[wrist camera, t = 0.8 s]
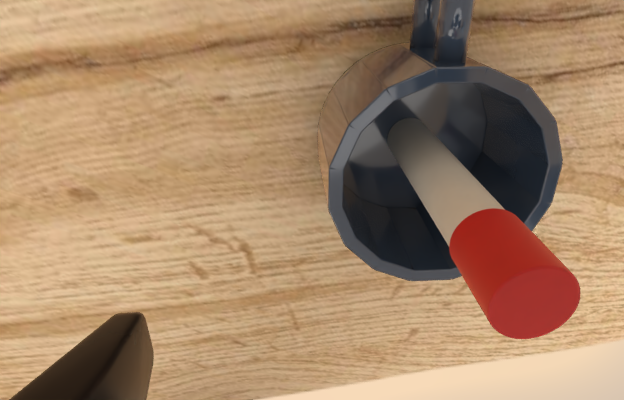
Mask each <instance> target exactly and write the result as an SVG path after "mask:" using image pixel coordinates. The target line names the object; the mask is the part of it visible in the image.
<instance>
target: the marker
mask: <svg viewBox="0 0 624 400" xmlns="http://www.w3.org/2000/svg"><path fill="white" fill-rule="evenodd" d="M387 142H388V146H389V149H390V150H391V152H392V154H393V155H394V157H395V158H396V160H397V162H398V163H399V165H400V167H401V168H402V170H403V172H404V173H405V175H406V177H407V178H408V180H409V182H410V183H411V185H412V186H413V188H414V190H415V191H416V193H417V195H418V196H419V198H420V200H421V201H422V203H423V205H424V206H425V208H426V210H427V211H428V213H429V214H430V216H431V218H432V219H433V221H434V223H435V224H436V226H437V228H438V229H439V231H440V233H441V234H442V236H443V238H444V239H445V241H446V242H447V244H448V246H449V251H450V255H451V258H452V260H453V261H454V263H455V265H456V266H457V268H458V270H459V271H460V273H461V275H462V277H463V278H464V280H465V282H466V283H467V285H468V287H469V288H470V290H471V292H472V293H473V295H474V297H475V299H476V300H477V302H478V304H479V305H480V307H481V309H482V310H483V312H484V314H485V315H486V317H487V319H488V321H489V322H490V324H491V325H492V327H493V328H494V329H495V330H496V331H498V332H499V333H501V334H503V335H504V336H507V337H510V338H515V339H530V338H535V337H539V336H542V335H545V334H548V333H550V332H552V331H554V330H555V329H557V328H558V327H560V326H561V325H563V324H564V323H565V322H566V321H567V320H568V319H569V318H570V317H571V316H572V314H573V313H574V311H575V310H576V308H577V306H578V303H579V300H580V287H579V283H578V281H577V279H576V277H575V276H574V275H573V274H572V273H571V272H570V271H569V270H568V269H567V268H566V267H565V266H564V265H563V263H562V262H561V261H560V260H559V259H558V258H557V257H556V256H555V255H554V254H553V253H552V252H551V251H550V250H549V249H548V248H547V247H546V246H545V245H544V244H543V243H542V242H541V241H540V240H539V239H538V238H537V237H536V236H535V234H534V233H533V232H532V231H531V230H530V229H529V228H528V227H527V226H526V225H525V224H524V223H523V222H522V221H521V220H520V219H519V218H518V217H517V216H516V215H515V214H513V213H512V212H509V211H507V210H505V209H504V208H503V207H502V206H501V205H500V204H499V203H498V202H497V200H496V199H495V198H494V197H493V196H492V195H491V194H490V193H489V192H488V191H487V190H486V189H485V188H484V187H483V186H482V185H481V184H480V182H479V181H478V180H477V179H476V178H475V177H474V176H473V175H472V174H471V173H470V172H469V171H468V170H467V169H466V168H465V167H464V165H463V164H462V163H461V162H460V161H459V160H458V159H457V158H456V157H455V156H454V155H453V154H452V153H451V152H450V151H449V150H448V149H447V147H446V146H445V145H444V144H443V143H442V142H441V141H440V140H439V139H438V138H437V137H436V136H435V135H434V134H433V133H432V132H431V131H430V129H429V128H428V127H427V126H426V125H425V124H424V123H423V122H422V121H420V120H418V119H415V118H406V119H402V120H400V121H398V122H397V123H396V124H394V126H393V127H392V128H391V129H390V131H389V134H388V138H387Z"/></svg>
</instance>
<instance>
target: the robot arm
mask: <svg viewBox="0 0 624 400" xmlns="http://www.w3.org/2000/svg"><path fill="white" fill-rule="evenodd" d="M152 366H153V347H152V343H151V339H150V335H149V331H148V327H147V323H146V319H145V317H144V315H143V314H142V313H140V312H132V313H119V314H116V315H114V316H112V317H111V318H110V319H109V320H107V321H106V322H105V323H104V324H102V325H101V326H100V327H99V328H97V329H96V330H95V331H94V332H93V333H91V334H90V335H89V336H88V337H86V338H85V339H84V340H83V341H81V342H80V343H79V344H78V345H76V346H75V347H74V348H73V349H71V350H70V351H69V352H68V353H67V354H65V355H64V356H63V357H62V358H60V359H59V360H58V361H57V362H55V363H54V364H53V365H52V366H50V367H49V368H48V369H47V370H45V371H44V372H43V373H42V374H41V375H39V376H38V377H37V378H36V379H34V380H33V381H32V382H31V383H29V384H28V385H27V386H26V387H24V388H23V389H22V390H21V391H19V392H18V393H17V394H16V395H15V396H13V397H12V398H11V399H10V400H146V398H147V393H148V387H149V382H150V377H151V371H152Z"/></svg>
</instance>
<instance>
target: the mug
mask: <svg viewBox="0 0 624 400" xmlns="http://www.w3.org/2000/svg"><path fill="white" fill-rule="evenodd" d="M474 5H475V0H414V3H413V14H412V25H411V36H410V42H408V43H399V44H395V45H390V46H387V47H384V48H381V49H379V50H376V51H374V52H372V53H370V54H368V55H366V56H365V57H363V58H362V59H360V60H359V61H358V62H356V63H355V64H354V65H352V66H351V67H350V68H349V69H348V70H347V71H346V72H345V73H344V74H343V75H342V76H341V77H340V78H339V80H338V81H337V82H336V84H335V85H334V87H333V88H332V90H331V91H330V93H329V95H328V97H327V99H326V101H325V103H324V106H323V108H322V111H321V114H320V119H319V124H318V136H317V137H318V157H319V163H320V168H321V173H322V179H323V184H324V189H325V195H326V200H327V205H328V210H329V213H330V215H331V217H332V219H333V222H334V224H335V226H336V228H337V230H338V233H339V235H340V237H341V239H342V241H343V243H344V244H345V246H346V247H347V248H349V249H350V250H351V251H352V252H353V253H354V254H356V255H357V256H358V257H359V258H360V259H362V260H363V261H364V262H365V263H366V264H368V265H369V266H370V267H371V268H372V269H374V270H376V271H380V272H383V273H386V274H389V275H392V276H395V277H399V278H402V279H405V280H408V281H428V280H450V279H455V278H458V277H460V276H462V275H461V273H460V271H459V270H458V268H457V266H456V265H455V263H454V261H453V260H452V258H451V255H450V251H449V246H448V244H447V242H446V241H445V239H444V238H443V236H442V234H441V233H440V231H439V229H438V228H437V226H436V224H435V223H434V221H433V219H432V218H431V216H430V214H429V213H428V211H427V210H426V208H425V206H424V205H423V203H422V201H421V200H420V198H419V196H418V195H417V193H416V191H415V190H414V188H413V186H412V185H411V183H410V182H409V180H408V178H407V177H406V175H405V173H404V172H403V170H402V168H401V167H400V165H399V163H398V162H397V160H396V158H395V157H394V155H393V154H392V152H391V150H390V149H389V146H388V142H387V138H388V134H389V131H390V129H391V128H392V127H393V126H394V124H396V123H397V122H398V121H400V120H402V119H406V118H415V119H418V120H420V121H422V122H423V123H424V124H425V125H426V126H427V127H428V128H429V129H430V131H431V132H432V133H433V134H434V135H435V136H436V137H437V138H438V139H439V140H440V141H441V142H442V143H443V144H444V145H445V146H446V147H447V149H448V150H449V151H450V152H451V153H452V154H453V155H454V156H455V157H456V158H457V159H458V160H459V161H460V162H461V163H462V164H463V165H464V167H465V168H466V169H467V170H468V171H469V172H470V173H471V174H472V175H473V176H474V177H475V178H476V179H477V180H478V181H479V182H480V184H481V185H482V186H483V187H484V188H485V189H486V190H487V191H488V192H489V193H490V194H491V195H492V196H493V197H494V198H495V199H496V200H497V202H498V203H499V204H500V205H501V206H502V207H503V208H504V209H505V210H507V211H509V212H512V213H513V214H515V215H516V216H517V217H518V218H519V219H520V220H521V221H522V222H523V223H524V224H525V225H526V226H527V227H528V228H529V229H530V230H531V231H533V229H534V228H535V226H536V225H537V224H538V222H539V221H540V219H541V218H542V217H543V215H544V214H545V212H546V211H547V210H548V208H549V207H550V205H551V203H552V201H553V197H554V194H555V190H556V186H557V183H558V179H559V175H560V171H561V168H562V164H563V163H562V161H563V159H562V153H561V147H560V141H559V135H558V128H557V122H556V120H555V118H554V116H553V115H552V114H551V112H550V111H549V110H548V109H547V107H546V106H545V105H544V103H543V102H542V101H541V99H540V98H539V97H538V95H537V94H536V93H535V92H534V90H533V89H532V88H531V87H530V86H529V85H528V84H526V83H524V82H521V81H519V80H517V79H515V78H513V77H510V76H508V75H506V74H504V73H502V72H499V71H497V70H495V69H493V68H491V67H488V66H486V65H484V64H482V63H479V62H477V61H475V60H473V59H470V58H468V57H467V52H468V45H469V39H470V32H471V25H472V18H473V12H474Z"/></svg>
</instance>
